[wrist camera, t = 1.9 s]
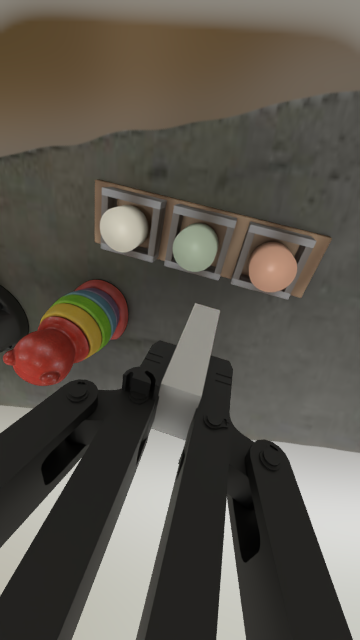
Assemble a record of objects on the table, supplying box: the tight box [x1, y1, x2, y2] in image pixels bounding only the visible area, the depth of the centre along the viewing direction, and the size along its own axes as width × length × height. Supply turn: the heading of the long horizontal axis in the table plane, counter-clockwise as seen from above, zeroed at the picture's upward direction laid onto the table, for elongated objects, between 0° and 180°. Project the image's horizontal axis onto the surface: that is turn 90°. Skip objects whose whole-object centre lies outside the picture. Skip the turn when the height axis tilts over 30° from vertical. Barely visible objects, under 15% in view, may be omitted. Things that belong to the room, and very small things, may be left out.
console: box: [95, 180, 332, 299], centre depth 31 cm, size 30×8×4 cm, turn 79°
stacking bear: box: [3, 280, 128, 386], centre depth 35 cm, size 11×10×18 cm
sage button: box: [173, 223, 218, 272], centre depth 29 cm, size 5×5×3 cm
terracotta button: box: [249, 242, 297, 292], centre depth 28 cm, size 5×5×3 cm
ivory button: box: [100, 205, 149, 252], centre depth 30 cm, size 5×5×3 cm
